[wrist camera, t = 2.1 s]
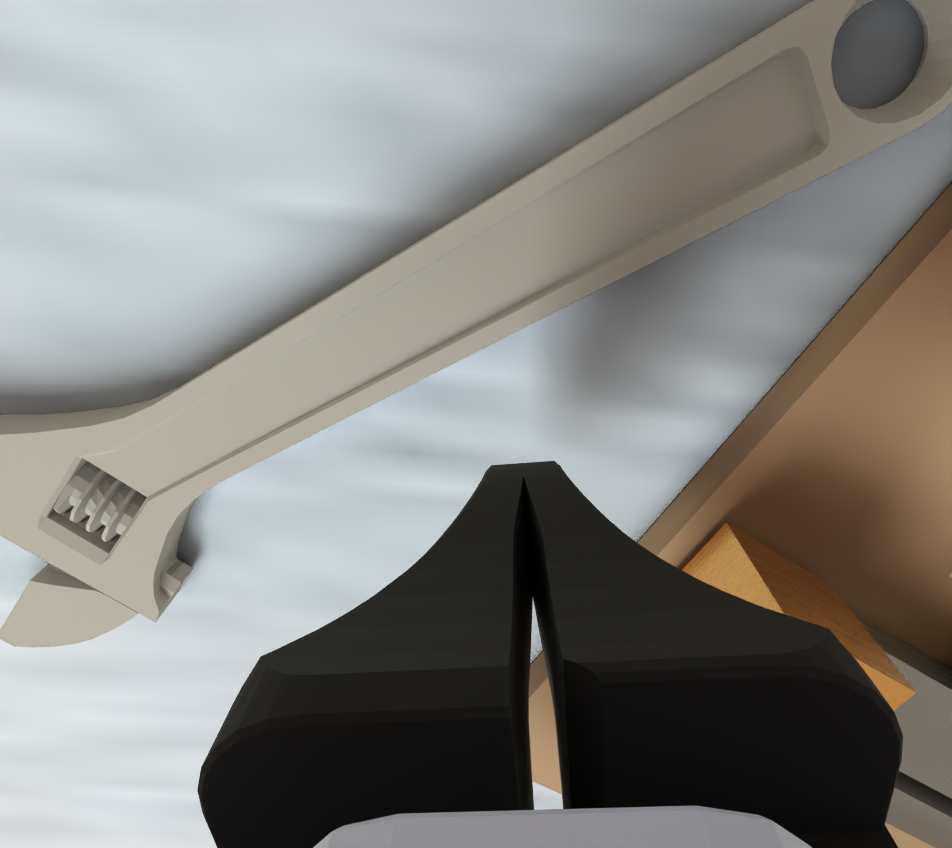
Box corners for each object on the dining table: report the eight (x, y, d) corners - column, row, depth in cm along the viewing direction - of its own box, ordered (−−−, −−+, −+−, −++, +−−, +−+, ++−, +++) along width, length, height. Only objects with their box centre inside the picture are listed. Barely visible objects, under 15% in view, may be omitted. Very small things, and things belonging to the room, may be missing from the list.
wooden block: (726, 522, 13) (788, 620, 10) (1059, 718, 15) (1188, 846, 12) (639, 614, 14) (674, 725, 11) (960, 786, 16) (1057, 918, 13)
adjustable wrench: (911, -66, 10) (990, -109, 9) (959, 280, 12) (1028, 297, 11) (-133, 456, 15) (-210, 492, 13) (39, 638, 17) (-8, 688, 16)
